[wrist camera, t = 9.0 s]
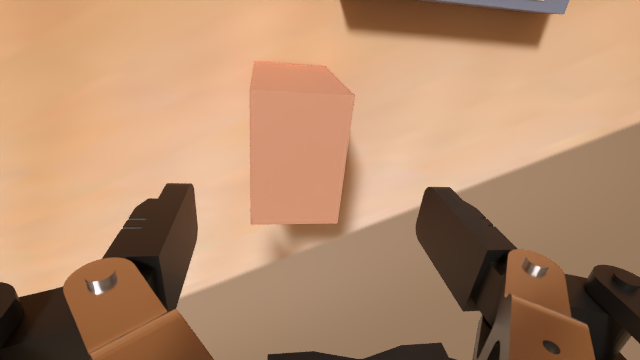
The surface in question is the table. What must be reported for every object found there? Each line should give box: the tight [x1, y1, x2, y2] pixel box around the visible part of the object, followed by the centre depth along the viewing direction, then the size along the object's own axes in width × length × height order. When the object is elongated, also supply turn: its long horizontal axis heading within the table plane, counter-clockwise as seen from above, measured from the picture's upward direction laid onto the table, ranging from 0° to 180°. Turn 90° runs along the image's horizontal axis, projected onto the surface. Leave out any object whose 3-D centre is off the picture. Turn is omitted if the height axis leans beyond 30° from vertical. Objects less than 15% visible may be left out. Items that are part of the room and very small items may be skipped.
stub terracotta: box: [250, 61, 355, 225], centre depth 17 cm, size 4×6×7 cm, turn 175°
